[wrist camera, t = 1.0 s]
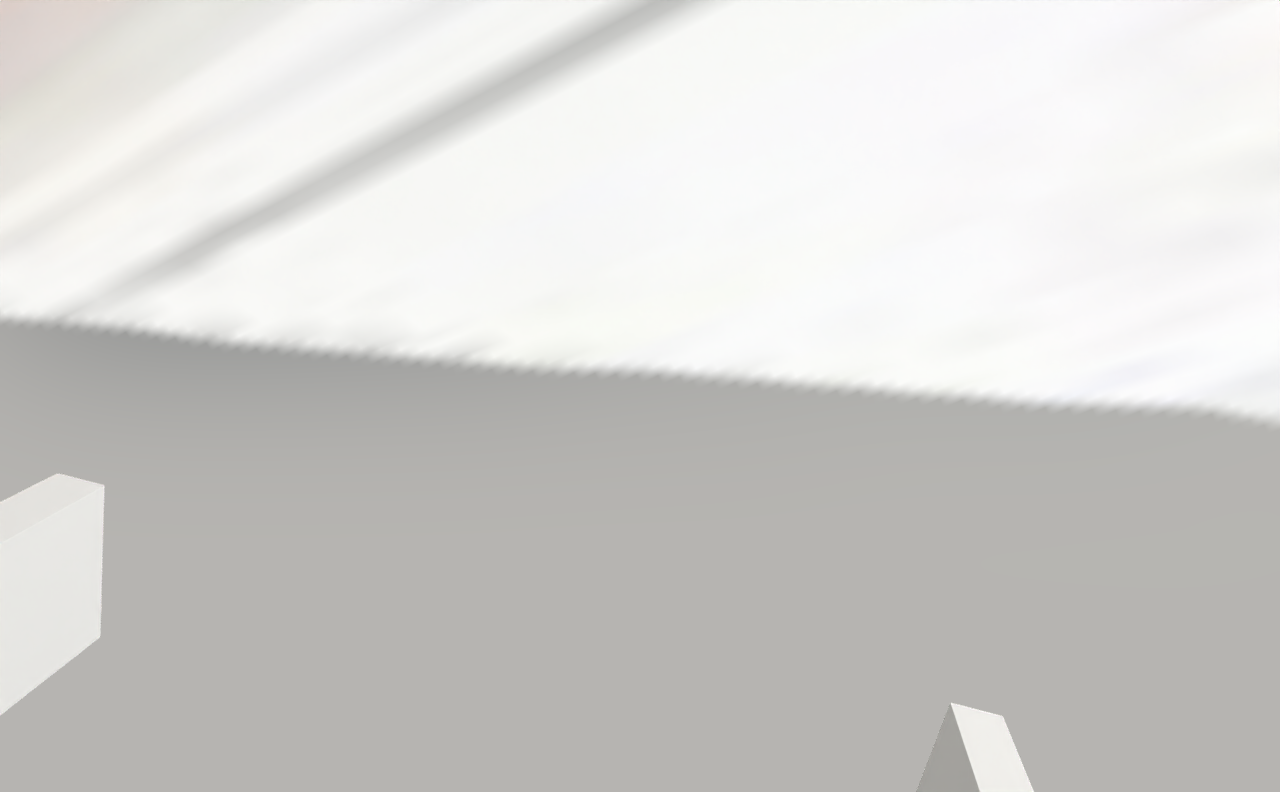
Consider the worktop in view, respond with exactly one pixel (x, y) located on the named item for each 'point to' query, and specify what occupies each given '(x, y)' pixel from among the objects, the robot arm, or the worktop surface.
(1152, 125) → the worktop surface
